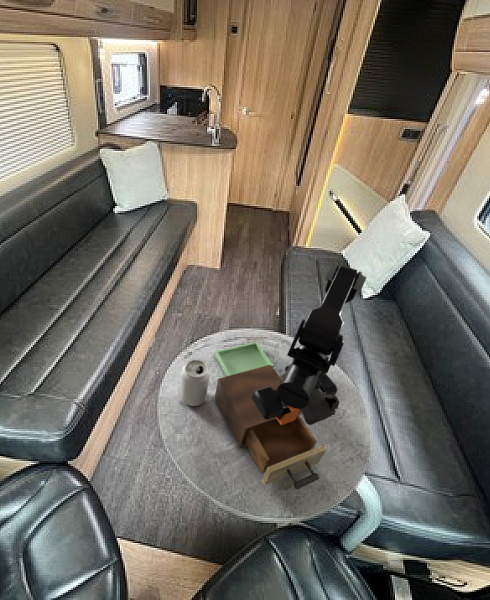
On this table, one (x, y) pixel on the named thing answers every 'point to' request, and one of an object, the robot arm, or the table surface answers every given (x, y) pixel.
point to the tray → (242, 358)
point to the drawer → (284, 451)
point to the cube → (289, 416)
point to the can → (194, 382)
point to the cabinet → (244, 399)
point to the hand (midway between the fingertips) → (286, 415)
